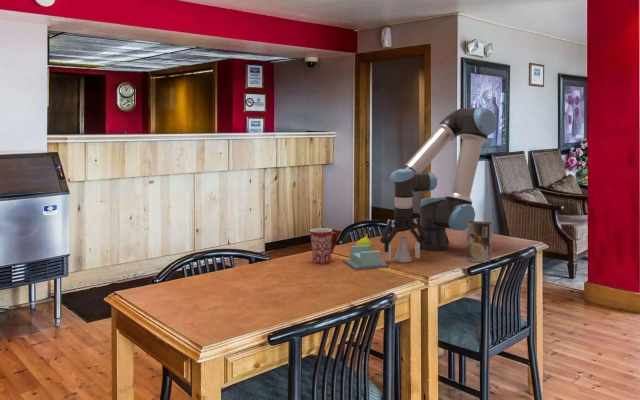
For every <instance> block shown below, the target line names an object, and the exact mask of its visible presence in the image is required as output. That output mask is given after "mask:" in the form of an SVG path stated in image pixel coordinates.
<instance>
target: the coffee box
mask: <svg viewBox="0 0 640 400" xmlns="http://www.w3.org/2000/svg"><path fill="white" fill-rule="evenodd" d="M492 224H493V222H490V221H480V220H477V221H476V220H474V221H469V222H468V225H467V229H466V230H467V234H466V235H467V236H466V238H467V241H466V243H467V244H466V262H473V263H484V264H487V263H486V262H489V261H490V262H491V261H492V228H493V227H492V226H493V225H492ZM490 262H489V263H490Z"/></svg>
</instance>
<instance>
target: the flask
mask: <svg viewBox="0 0 640 400" xmlns="http://www.w3.org/2000/svg"><path fill="white" fill-rule="evenodd" d="M398 237H399V245H398V248H397V251H396V254H395V255H394V259H393V260H394V262H398V263H410V262H413V259H412V257H411V254H410V251H409V248H408V242H407V241H408V237H407V236H398Z"/></svg>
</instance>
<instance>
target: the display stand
mask: <svg viewBox="0 0 640 400" xmlns="http://www.w3.org/2000/svg"><path fill="white" fill-rule="evenodd" d="M381 254H382V253H381V250H372V251H370V245H363V246H356V245H352V246H350V258H347V259H342V261H343V263H344V264H346V265H347V266H348V267H350V268H351V269H352V270H354V271H360V270H361V271H362V270H372V269H384V268H385V269H386V268H389V264H387V263H386V262H384V261H383V260H382V258H381V257H382V255H381Z"/></svg>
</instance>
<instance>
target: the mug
mask: <svg viewBox="0 0 640 400" xmlns="http://www.w3.org/2000/svg"><path fill="white" fill-rule="evenodd" d="M309 231H310V241H311V253H312V255H311V257H312V263H313V264H316V265H326V264H330V263H331V258H332V256H331V255H332V253H333V252H334V249H335V248H336V245H337V242H338V235H337V232H335V231H333V229H331V228H327V227H317V228H311V229H310V230H309ZM332 236H333V240H332ZM332 241H333V242H332Z"/></svg>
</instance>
